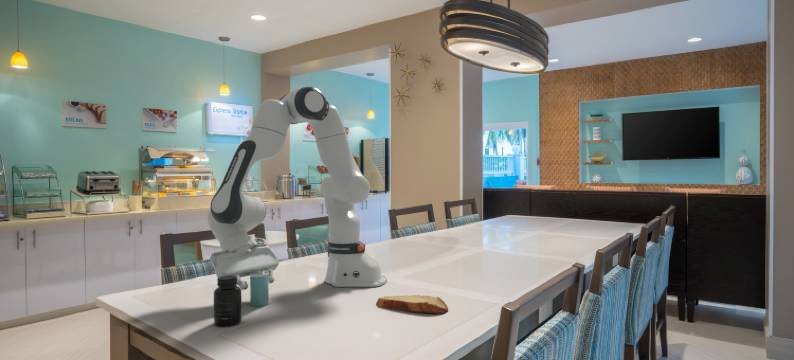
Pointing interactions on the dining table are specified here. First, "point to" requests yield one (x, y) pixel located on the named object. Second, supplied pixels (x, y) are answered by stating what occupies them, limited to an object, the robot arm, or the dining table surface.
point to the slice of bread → (414, 304)
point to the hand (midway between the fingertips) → (258, 285)
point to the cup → (259, 288)
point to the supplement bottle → (227, 302)
